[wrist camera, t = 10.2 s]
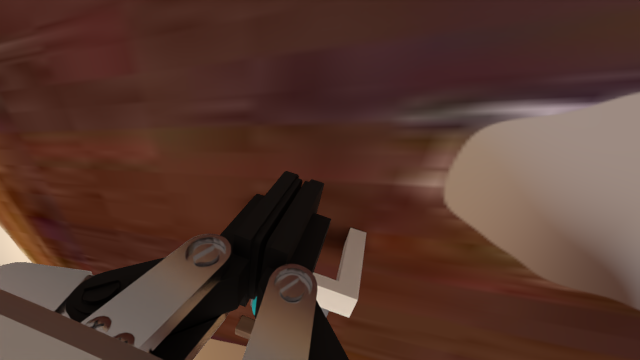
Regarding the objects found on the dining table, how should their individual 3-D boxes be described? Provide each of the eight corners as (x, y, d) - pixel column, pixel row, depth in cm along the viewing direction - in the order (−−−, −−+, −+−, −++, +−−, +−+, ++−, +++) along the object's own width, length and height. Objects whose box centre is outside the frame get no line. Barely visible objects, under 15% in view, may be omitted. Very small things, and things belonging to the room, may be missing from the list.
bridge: (255, 196, 32) (212, 247, 24) (366, 232, 30) (357, 299, 23) (254, 214, 33) (213, 267, 26) (359, 249, 32) (349, 317, 24)
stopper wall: (242, 315, 47) (235, 328, 45) (323, 346, 45) (320, 361, 43) (242, 321, 48) (235, 334, 46) (321, 351, 46) (317, 366, 44)
